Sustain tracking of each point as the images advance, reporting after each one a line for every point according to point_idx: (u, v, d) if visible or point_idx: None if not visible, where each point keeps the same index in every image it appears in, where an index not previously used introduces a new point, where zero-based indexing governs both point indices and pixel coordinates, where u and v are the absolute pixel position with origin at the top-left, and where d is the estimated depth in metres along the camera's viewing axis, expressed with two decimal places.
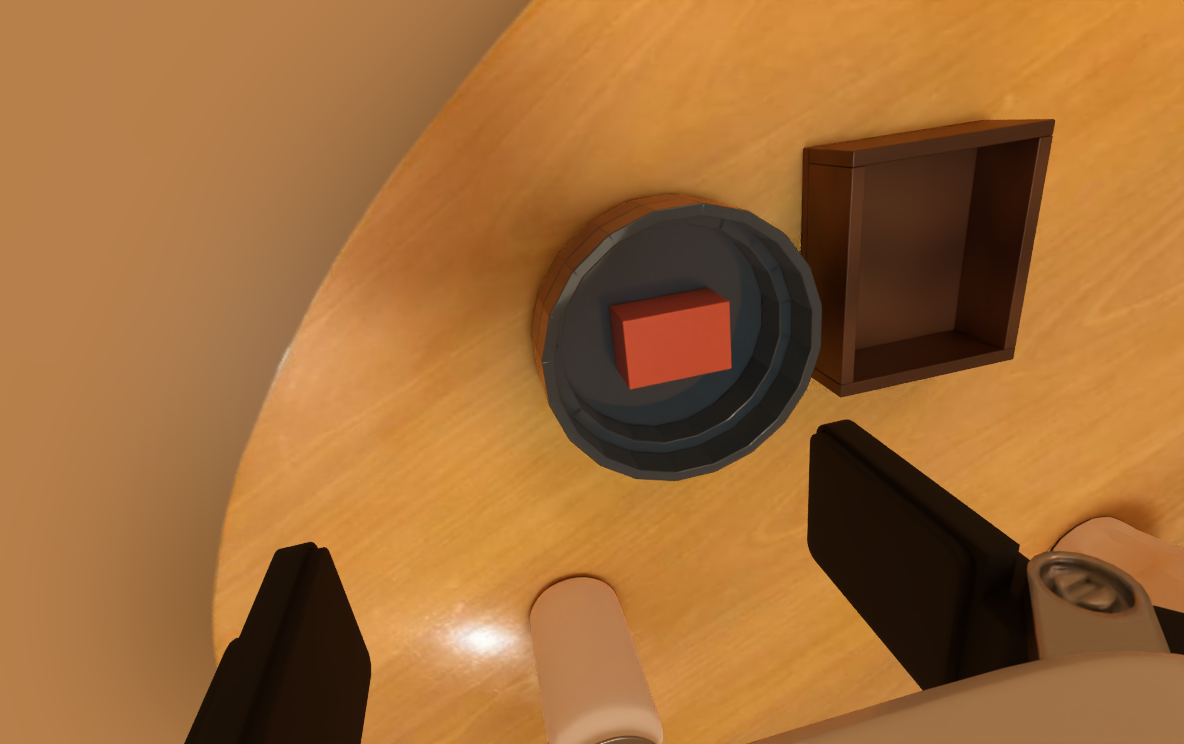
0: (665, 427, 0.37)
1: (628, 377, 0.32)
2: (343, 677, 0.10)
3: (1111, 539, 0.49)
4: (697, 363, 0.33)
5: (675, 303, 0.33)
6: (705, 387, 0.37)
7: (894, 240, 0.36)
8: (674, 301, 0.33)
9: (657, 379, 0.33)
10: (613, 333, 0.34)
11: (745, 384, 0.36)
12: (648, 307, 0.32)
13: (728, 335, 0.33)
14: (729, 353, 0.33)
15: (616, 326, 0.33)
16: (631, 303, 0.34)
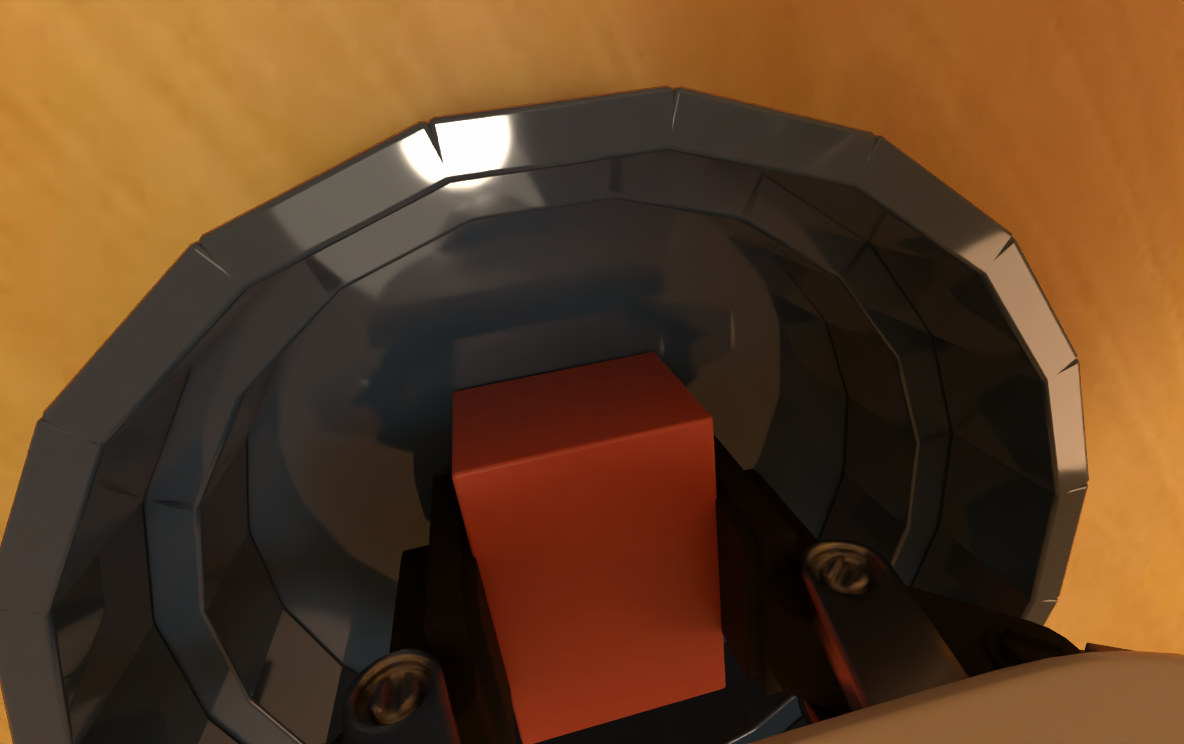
0: (251, 569, 0.11)
1: (500, 462, 0.09)
2: None
3: None
4: (545, 659, 0.10)
5: None
6: None
7: None
8: None
9: (491, 558, 0.09)
10: (582, 372, 0.11)
11: None
12: None
13: (628, 712, 0.11)
14: (572, 729, 0.11)
15: (638, 386, 0.10)
16: None
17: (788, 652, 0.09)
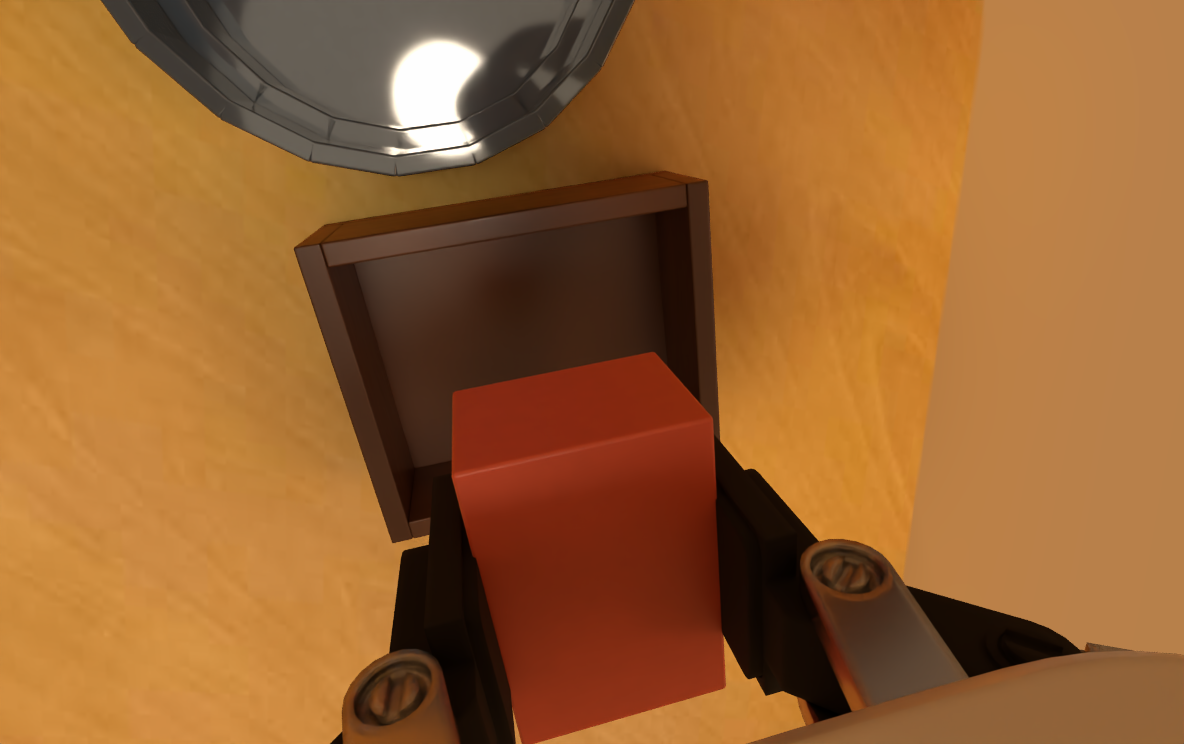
0: None
1: (501, 462, 0.09)
2: None
3: None
4: (545, 659, 0.10)
5: None
6: (267, 17, 0.19)
7: (545, 334, 0.25)
8: None
9: (491, 557, 0.09)
10: (582, 372, 0.11)
11: (287, 90, 0.19)
12: None
13: (628, 711, 0.11)
14: (572, 729, 0.11)
15: (638, 386, 0.10)
16: None
17: (788, 652, 0.09)
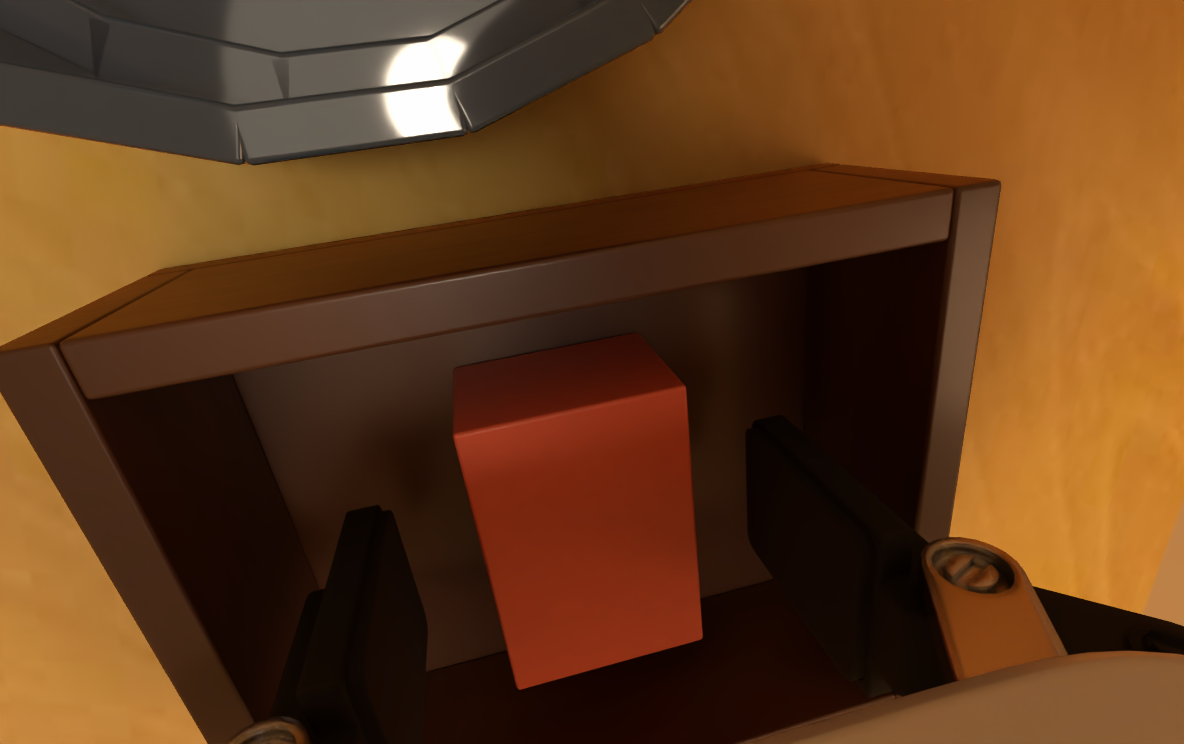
0: None
1: (496, 424, 0.10)
2: (409, 629, 0.10)
3: None
4: (537, 608, 0.11)
5: None
6: None
7: None
8: None
9: (488, 511, 0.10)
10: (571, 350, 0.12)
11: None
12: None
13: (613, 659, 0.12)
14: (562, 674, 0.12)
15: (621, 361, 0.11)
16: None
17: (905, 654, 0.08)
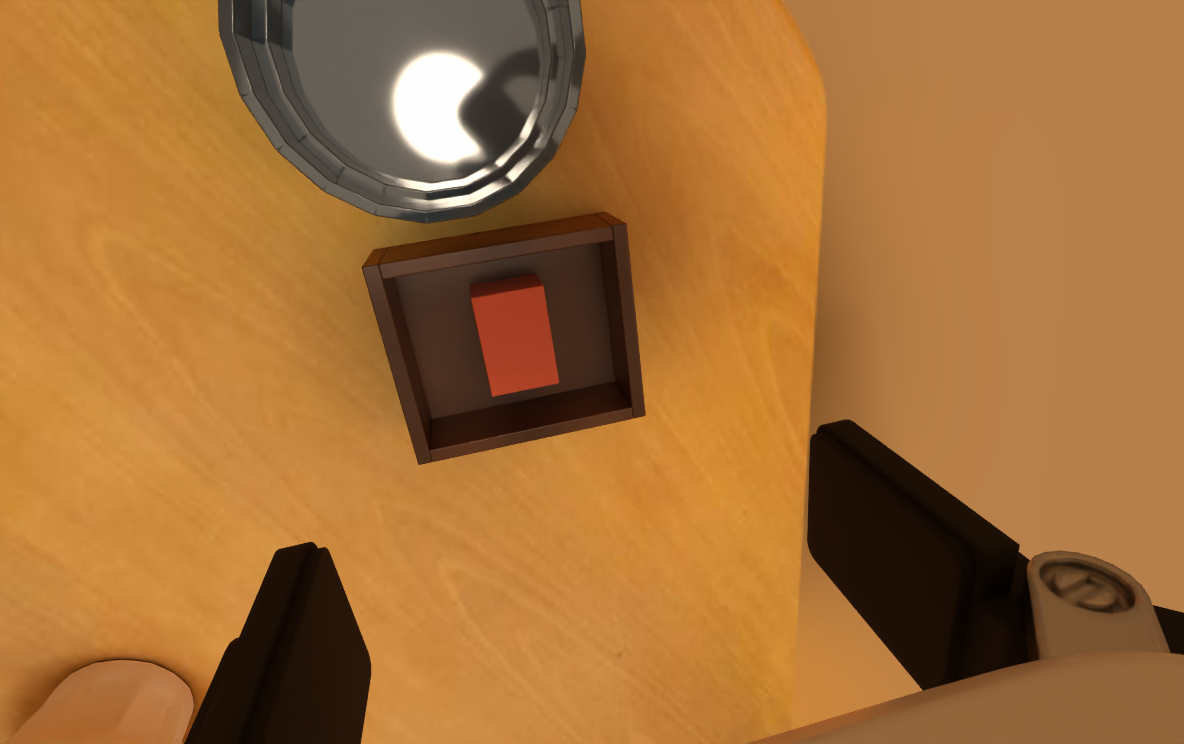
0: (282, 59, 0.28)
1: (484, 295, 0.32)
2: (343, 677, 0.10)
3: (166, 710, 0.39)
4: (498, 363, 0.34)
5: None
6: (343, 120, 0.30)
7: None
8: None
9: (481, 325, 0.33)
10: (511, 279, 0.35)
11: (356, 166, 0.30)
12: None
13: (526, 387, 0.35)
14: (508, 392, 0.34)
15: (526, 281, 0.34)
16: None
17: None
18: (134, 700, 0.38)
